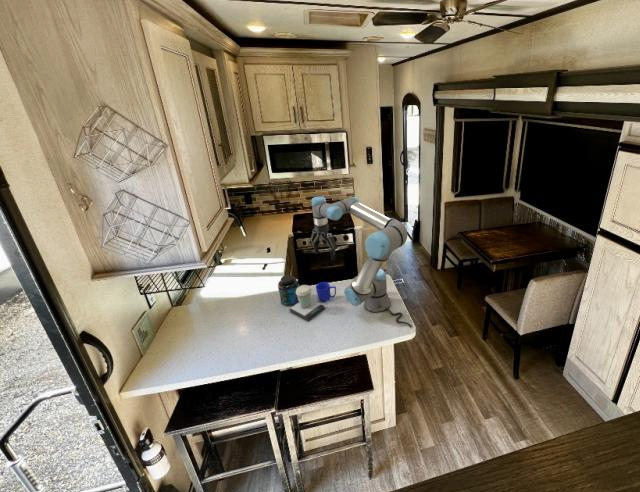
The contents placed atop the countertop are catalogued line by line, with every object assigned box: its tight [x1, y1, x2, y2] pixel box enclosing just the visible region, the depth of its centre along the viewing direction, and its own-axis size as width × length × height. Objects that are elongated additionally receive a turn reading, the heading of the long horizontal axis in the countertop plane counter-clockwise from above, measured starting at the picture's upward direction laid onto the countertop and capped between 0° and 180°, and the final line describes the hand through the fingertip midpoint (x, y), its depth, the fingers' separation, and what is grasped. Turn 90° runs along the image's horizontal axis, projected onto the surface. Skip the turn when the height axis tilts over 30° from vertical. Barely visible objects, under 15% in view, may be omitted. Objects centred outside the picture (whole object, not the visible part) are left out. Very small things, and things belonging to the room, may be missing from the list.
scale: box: [289, 298, 326, 322], centre depth 192 cm, size 15×13×3 cm
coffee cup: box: [296, 284, 312, 309], centre depth 190 cm, size 8×9×12 cm
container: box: [277, 274, 300, 307], centre depth 198 cm, size 12×12×17 cm
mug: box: [315, 281, 337, 303], centre depth 200 cm, size 8×12×10 cm
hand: (325, 256), depth 194 cm, fingers open, 13 cm apart
